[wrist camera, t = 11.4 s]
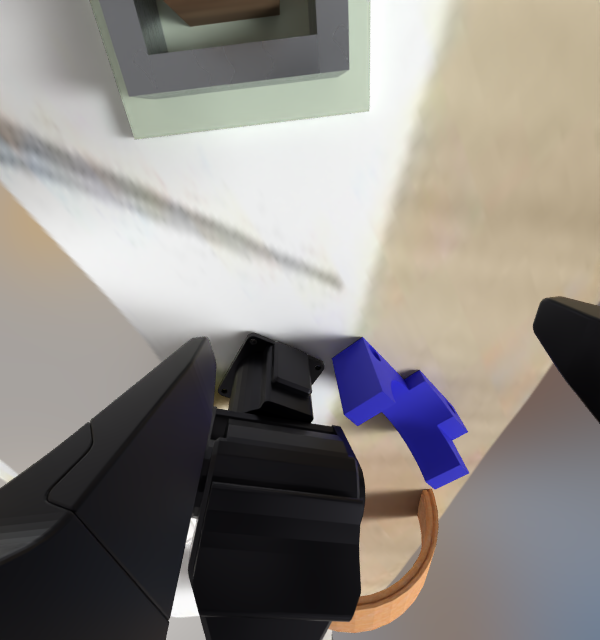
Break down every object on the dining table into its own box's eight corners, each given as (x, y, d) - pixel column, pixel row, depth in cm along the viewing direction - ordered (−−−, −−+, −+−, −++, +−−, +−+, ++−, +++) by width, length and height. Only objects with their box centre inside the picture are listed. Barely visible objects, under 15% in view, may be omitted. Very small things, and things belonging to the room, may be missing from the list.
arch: (424, 514, 40) (463, 622, 31) (259, 529, 40) (253, 642, 31) (431, 487, 37) (476, 599, 28) (252, 503, 37) (244, 620, 28)
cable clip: (452, 405, 30) (487, 464, 25) (409, 428, 31) (434, 489, 26) (378, 323, 25) (403, 378, 20) (331, 356, 26) (344, 414, 21)
